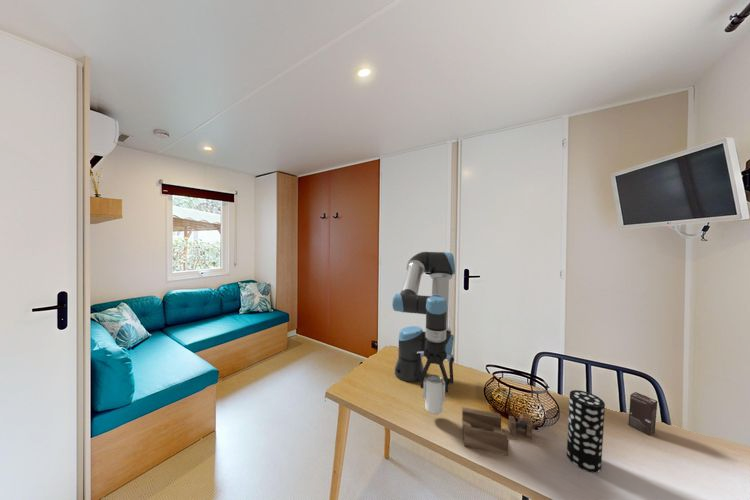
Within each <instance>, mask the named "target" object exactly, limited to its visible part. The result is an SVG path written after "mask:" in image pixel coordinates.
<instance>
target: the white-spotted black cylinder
mask: <svg viewBox="0 0 750 500" xmlns="http://www.w3.org/2000/svg"><path fill="white" fill-rule="evenodd" d="M605 407H606V403H605V401H604V400H603V399H601V398H600V397H599V396H597V395H595V394H592V393H590V392H588V391H583V390H577V389H575V390H570V392H569V403H568V419H567V420H568V423H567V424H568V425H567V440H566V441H567V443H566V456H567V458H568V459H569V460H570V462H571V463H572V464H574V465H575V466H577V467H578V468H580V469H581V470H584V471H585V472H588V473H589V472H590V473H594V472H596V473H599V472H598V471H600V470H602V461H603V459H602V458H603V457H602V456H603V445H604V444H603V442H604V440H603V439H604V428H605V427H604V426H605V410H606V408H605ZM600 472H601V471H600Z"/></svg>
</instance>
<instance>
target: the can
mask: <svg viewBox="0 0 750 500" xmlns="http://www.w3.org/2000/svg"><path fill="white" fill-rule="evenodd" d="M424 400H425V401H424V402H425V404H424V407H425V410H426V411H427V412H428V413H430V414H432V415H440V414H441V413H442V412H443V403H444V402H443V378H442V377H441V376H440V375H438V374H429V375H427V378H426V393H425V398H424Z"/></svg>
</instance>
